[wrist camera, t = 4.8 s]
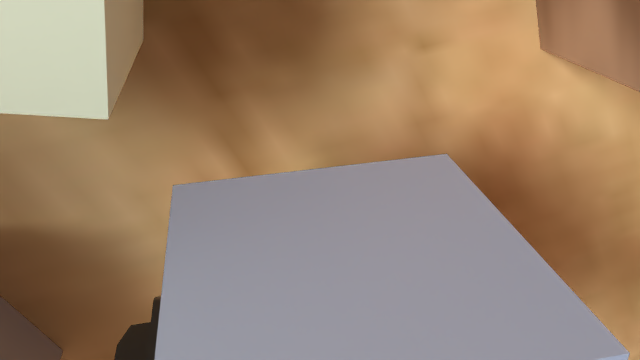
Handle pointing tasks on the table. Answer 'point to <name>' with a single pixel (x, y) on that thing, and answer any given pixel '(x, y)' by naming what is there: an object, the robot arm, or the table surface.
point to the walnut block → (594, 35)
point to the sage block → (67, 55)
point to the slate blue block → (362, 272)
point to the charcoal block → (23, 338)
